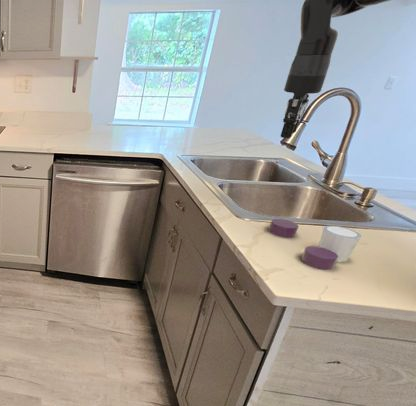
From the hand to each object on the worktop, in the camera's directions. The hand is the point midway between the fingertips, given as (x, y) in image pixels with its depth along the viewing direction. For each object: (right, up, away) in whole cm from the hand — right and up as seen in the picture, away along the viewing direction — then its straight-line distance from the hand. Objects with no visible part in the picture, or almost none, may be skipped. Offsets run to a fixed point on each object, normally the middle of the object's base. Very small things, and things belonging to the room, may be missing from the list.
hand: (287, 134), depth 101 cm
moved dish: (0, -27, +2) cm, 28 cm away
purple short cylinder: (-3, -34, -12) cm, 36 cm away
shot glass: (+3, -33, -9) cm, 34 cm away
